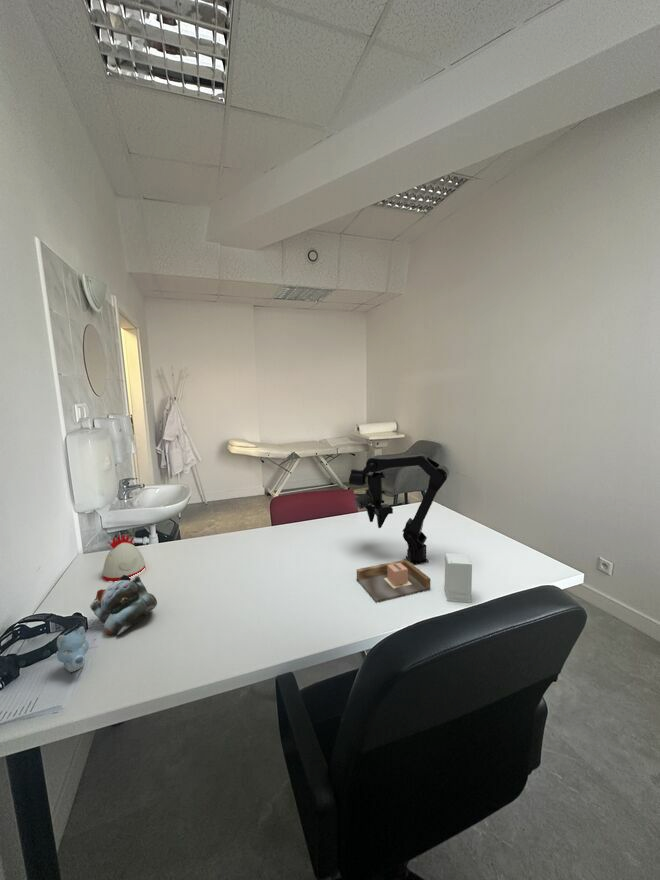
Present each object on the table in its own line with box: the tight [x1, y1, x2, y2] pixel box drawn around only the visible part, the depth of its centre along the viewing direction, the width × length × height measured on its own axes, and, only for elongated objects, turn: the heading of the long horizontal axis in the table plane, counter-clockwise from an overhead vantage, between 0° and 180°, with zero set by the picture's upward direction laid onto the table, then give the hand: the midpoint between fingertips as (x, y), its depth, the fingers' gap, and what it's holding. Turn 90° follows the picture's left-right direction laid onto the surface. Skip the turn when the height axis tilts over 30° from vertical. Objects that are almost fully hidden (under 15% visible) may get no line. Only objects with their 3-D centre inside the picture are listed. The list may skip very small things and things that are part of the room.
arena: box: [356, 559, 431, 604], centre depth 122 cm, size 20×15×4 cm
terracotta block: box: [387, 563, 408, 586], centre depth 123 cm, size 5×5×5 cm
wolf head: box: [56, 625, 90, 673], centre depth 86 cm, size 6×9×10 cm
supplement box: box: [443, 552, 473, 604], centre depth 114 cm, size 7×7×13 cm
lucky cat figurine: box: [89, 575, 158, 637], centre depth 105 cm, size 15×12×14 cm
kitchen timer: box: [102, 533, 146, 582], centre depth 135 cm, size 14×14×15 cm
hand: (375, 524), depth 146 cm, fingers open, 7 cm apart
